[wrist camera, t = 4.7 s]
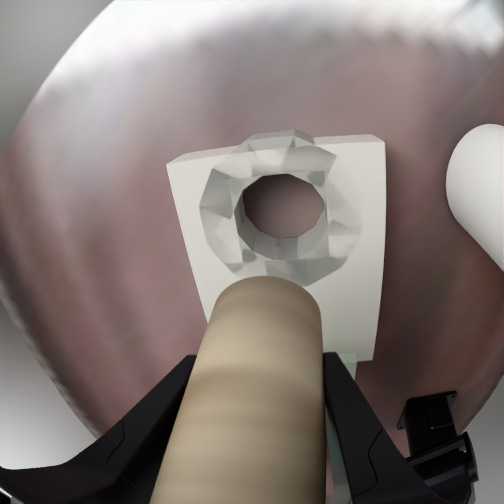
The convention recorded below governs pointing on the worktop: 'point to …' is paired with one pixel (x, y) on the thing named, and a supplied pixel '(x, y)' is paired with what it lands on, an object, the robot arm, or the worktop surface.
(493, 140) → the beverage can
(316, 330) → the peg
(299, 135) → the socket
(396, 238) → the worktop surface
